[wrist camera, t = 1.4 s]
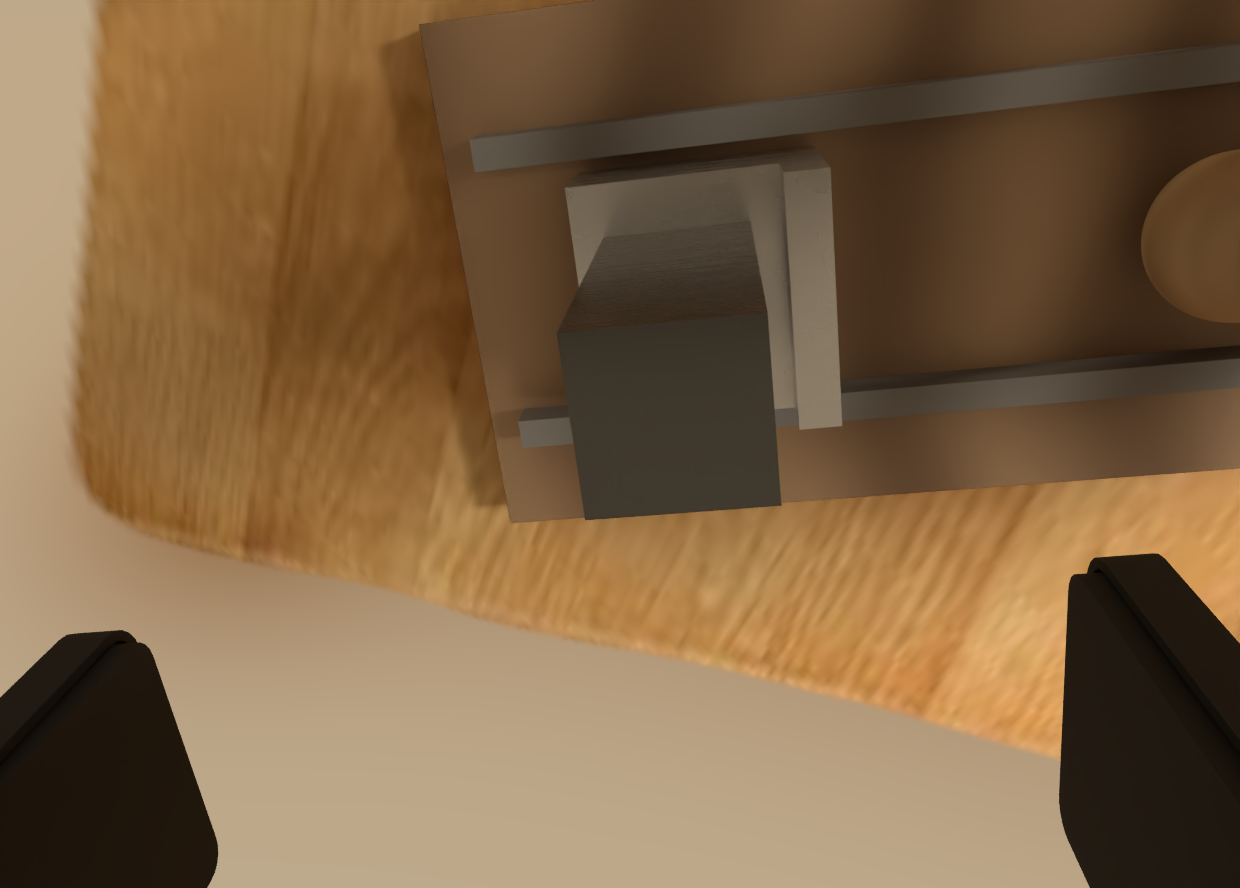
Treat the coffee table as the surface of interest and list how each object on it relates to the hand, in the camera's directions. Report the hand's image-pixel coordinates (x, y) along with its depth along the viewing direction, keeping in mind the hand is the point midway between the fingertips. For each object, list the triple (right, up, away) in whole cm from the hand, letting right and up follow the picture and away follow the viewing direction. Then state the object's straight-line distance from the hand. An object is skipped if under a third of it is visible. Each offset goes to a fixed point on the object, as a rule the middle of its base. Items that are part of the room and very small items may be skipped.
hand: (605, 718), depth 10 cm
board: (+8, +8, +18) cm, 21 cm away
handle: (+2, +7, +17) cm, 18 cm away
